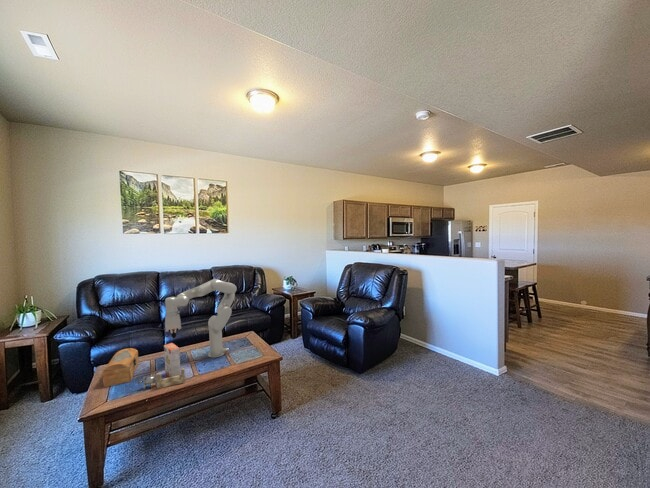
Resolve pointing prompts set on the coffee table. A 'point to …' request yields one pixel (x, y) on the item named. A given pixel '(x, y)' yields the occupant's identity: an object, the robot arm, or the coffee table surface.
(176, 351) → the cracker box
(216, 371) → the coffee table surface
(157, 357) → the coffee table surface
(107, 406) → the coffee table surface
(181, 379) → the bay
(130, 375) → the wooden box
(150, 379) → the winch
